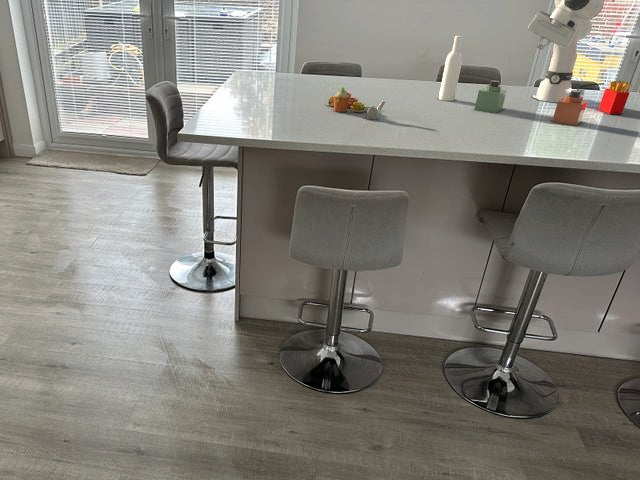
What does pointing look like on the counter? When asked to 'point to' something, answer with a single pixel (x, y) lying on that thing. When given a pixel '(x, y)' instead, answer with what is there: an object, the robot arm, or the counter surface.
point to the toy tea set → (345, 102)
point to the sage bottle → (490, 99)
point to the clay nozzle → (575, 94)
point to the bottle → (451, 72)
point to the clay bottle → (569, 110)
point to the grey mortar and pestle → (374, 111)
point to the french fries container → (615, 98)
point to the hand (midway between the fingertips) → (539, 48)
